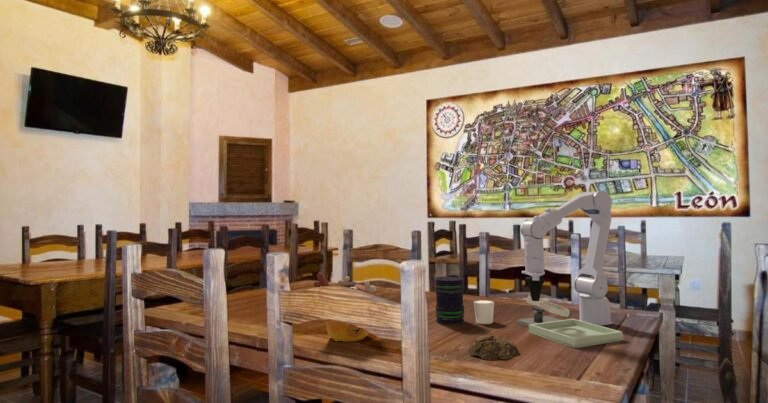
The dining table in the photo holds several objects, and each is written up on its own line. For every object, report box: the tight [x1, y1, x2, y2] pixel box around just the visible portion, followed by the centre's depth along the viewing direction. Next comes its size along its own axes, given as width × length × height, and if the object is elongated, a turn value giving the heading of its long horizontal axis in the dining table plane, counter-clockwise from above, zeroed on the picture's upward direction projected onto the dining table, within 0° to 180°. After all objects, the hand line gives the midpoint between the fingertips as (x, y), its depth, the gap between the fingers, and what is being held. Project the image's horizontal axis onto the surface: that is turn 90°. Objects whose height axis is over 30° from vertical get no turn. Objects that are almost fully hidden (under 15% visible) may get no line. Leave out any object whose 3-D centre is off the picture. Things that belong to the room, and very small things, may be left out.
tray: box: [528, 318, 624, 349], centre depth 142 cm, size 18×19×2 cm
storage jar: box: [434, 275, 465, 326], centre depth 164 cm, size 10×10×15 cm
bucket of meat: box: [313, 272, 377, 343], centre depth 146 cm, size 20×16×20 cm
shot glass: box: [473, 299, 495, 325], centre depth 163 cm, size 7×7×7 cm
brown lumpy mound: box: [468, 334, 520, 361], centre depth 127 cm, size 13×12×5 cm
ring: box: [526, 294, 571, 318], centre depth 150 cm, size 13×9×2 cm
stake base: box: [516, 306, 561, 328], centre depth 157 cm, size 13×11×6 cm
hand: (535, 300), depth 151 cm, fingers closed on ring, 2 cm apart
